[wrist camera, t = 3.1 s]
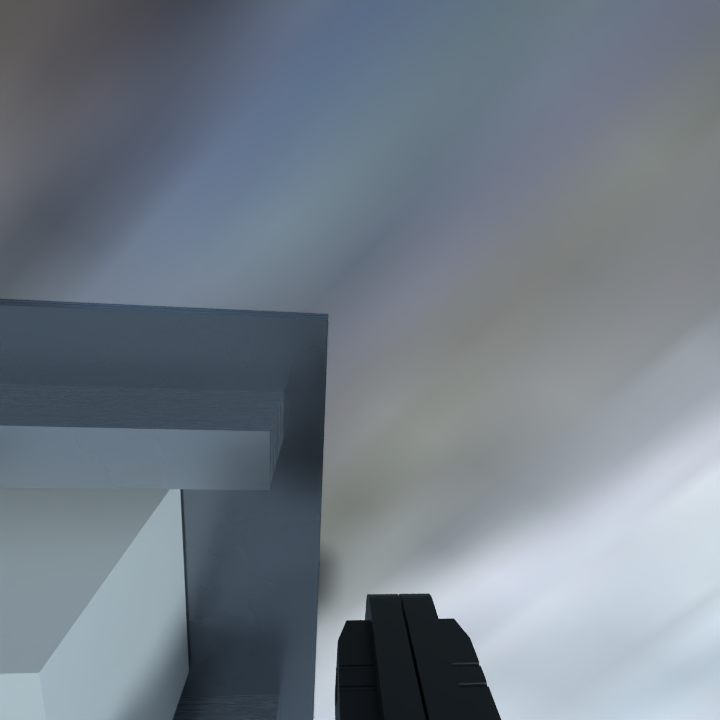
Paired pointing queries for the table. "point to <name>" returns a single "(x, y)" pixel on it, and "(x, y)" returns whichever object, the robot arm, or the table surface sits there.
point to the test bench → (191, 467)
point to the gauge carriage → (91, 604)
